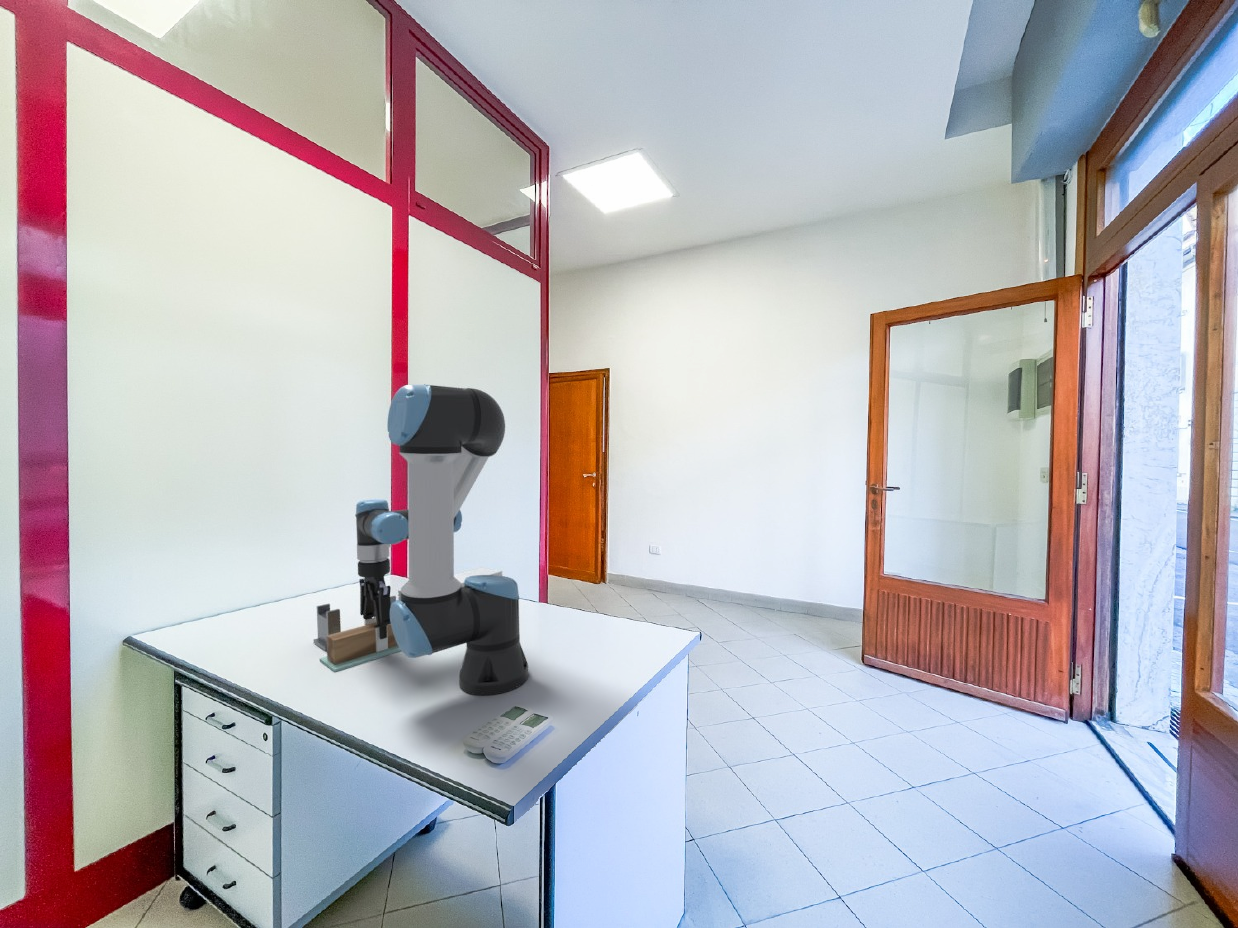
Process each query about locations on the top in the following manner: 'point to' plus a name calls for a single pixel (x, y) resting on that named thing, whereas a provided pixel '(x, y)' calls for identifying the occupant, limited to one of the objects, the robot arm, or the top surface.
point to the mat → (359, 659)
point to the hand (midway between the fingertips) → (376, 646)
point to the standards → (330, 623)
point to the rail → (355, 643)
